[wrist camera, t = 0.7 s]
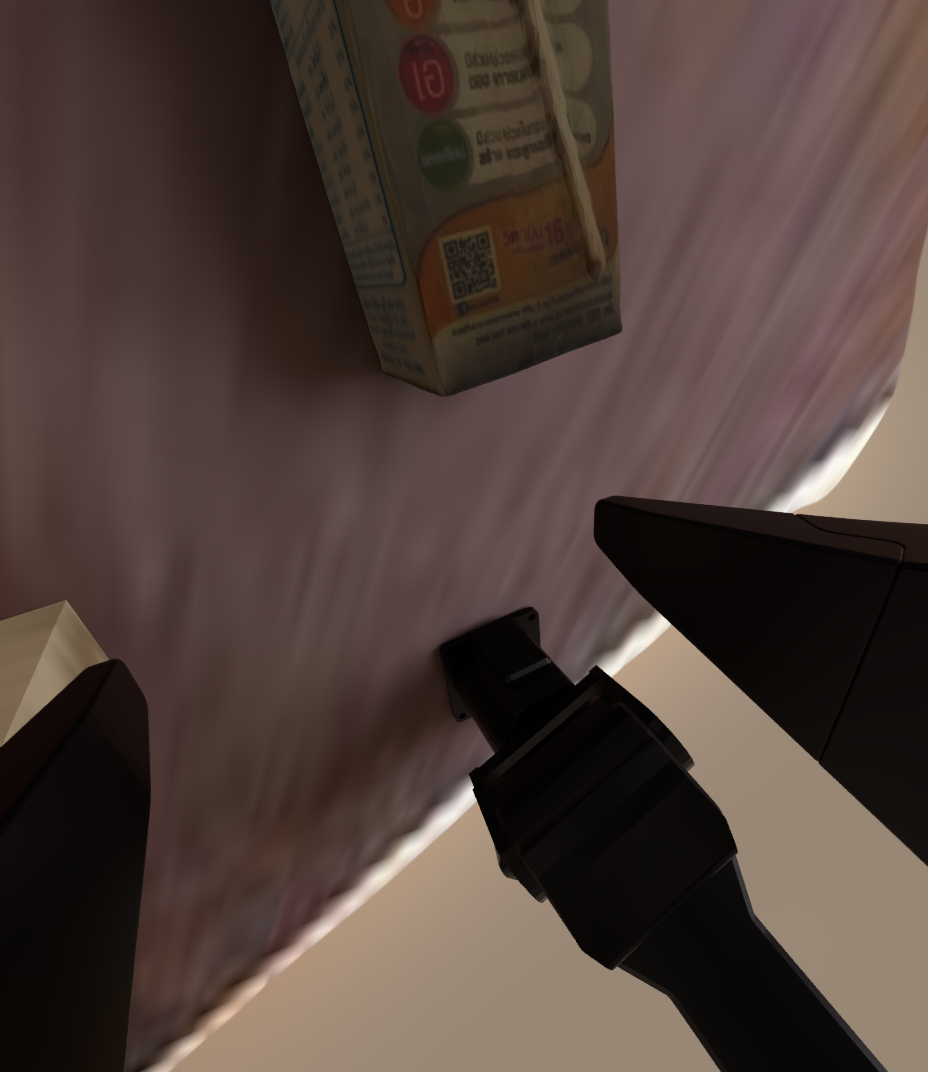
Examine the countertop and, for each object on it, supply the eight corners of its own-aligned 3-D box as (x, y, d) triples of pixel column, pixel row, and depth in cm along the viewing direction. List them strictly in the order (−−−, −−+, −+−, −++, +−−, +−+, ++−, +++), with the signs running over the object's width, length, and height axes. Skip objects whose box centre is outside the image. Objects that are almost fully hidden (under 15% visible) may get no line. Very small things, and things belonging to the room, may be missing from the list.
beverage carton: (440, -500, 12) (638, -1152, 6) (538, 329, 22) (642, 344, 17) (84, -568, 9) (-67, -1634, 4) (379, 384, 20) (442, 421, 15)
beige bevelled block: (141, 704, 21) (102, 959, 13) (36, 746, 20) (-78, 1056, 12) (66, 599, 18) (-45, 850, 10) (-65, 641, 17) (-311, 965, 9)
